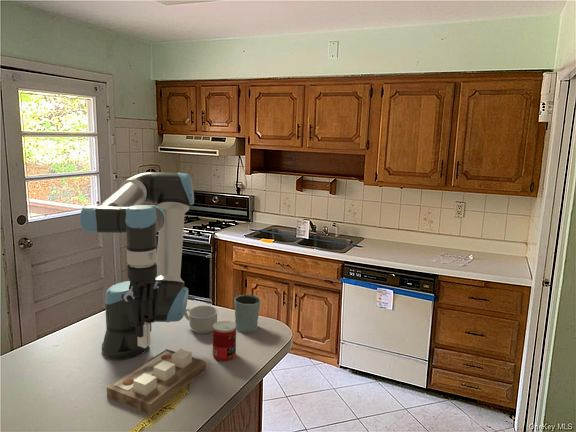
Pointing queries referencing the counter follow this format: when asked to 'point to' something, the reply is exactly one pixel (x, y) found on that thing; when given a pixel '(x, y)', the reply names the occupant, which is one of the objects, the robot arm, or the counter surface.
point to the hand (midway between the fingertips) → (144, 345)
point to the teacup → (202, 318)
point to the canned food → (224, 340)
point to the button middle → (164, 370)
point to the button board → (164, 390)
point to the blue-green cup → (246, 313)
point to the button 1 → (145, 384)
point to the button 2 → (182, 358)
